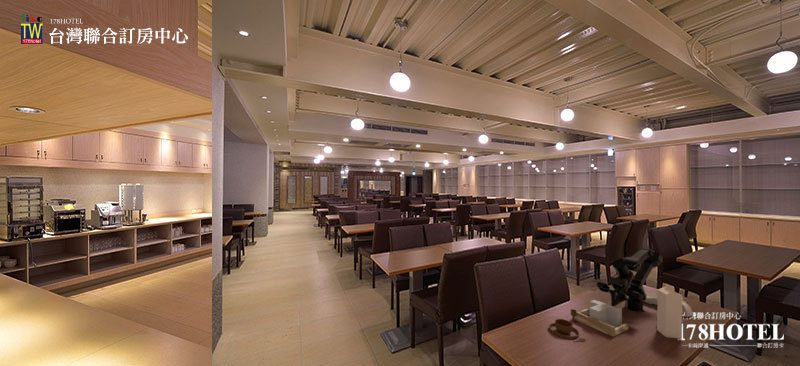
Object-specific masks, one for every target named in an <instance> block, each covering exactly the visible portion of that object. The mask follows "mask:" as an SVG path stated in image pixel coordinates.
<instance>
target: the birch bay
mask: <svg viewBox="0 0 800 366" xmlns="http://www.w3.org/2000/svg"><path fill="white" fill-rule="evenodd" d="M571 316H572V315H571ZM574 317H575V320H574V321H575V322H578V323H580V324H583V325H585V326H587V327H590V328H591V329H595V330H597V331H599V332H601V333H604V334H606V335H608V334H609V336H611V337H616V336H618V335H620V334H622V333H624V332H626V331H628V330H629V323H627V322H625V323H622V325H621V326H618V327H614V326H611V325H609V324H606V323H604V322H601V321H599V320H596V319H594V318H591V317H590V308H584V309H582V310H580V311H577V314H576V316H574ZM572 318H573V316H572Z"/></svg>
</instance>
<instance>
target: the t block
mask: <svg viewBox="0 0 800 366" xmlns="http://www.w3.org/2000/svg"><path fill="white" fill-rule="evenodd" d="M589 309H590V311H589V317H591V318H594V319H596V320H599V321H601V322H604V323H606V324H609V325H611V326H614V327H615V328H616V327H618V326H621V325H623V323H622V321H623V318H622V317H623V309H622V308H619V307H616V306H615V307H614V306H612V304H608V303H605V302H602V301H599V300H597V299H593V300H590V301H589Z"/></svg>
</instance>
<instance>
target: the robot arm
mask: <svg viewBox="0 0 800 366" xmlns="http://www.w3.org/2000/svg"><path fill="white" fill-rule="evenodd" d="M663 260H664V257H663V255H661V254H660V253H658V252H656V251H654V250H653V249H651V248H646V247H640V248H639V250H638V251H637V252H635V253H634V254H633V255H632V256H626V257H623V258H622V257H619V259H615V260H614V261H612V263H611V265H612V267H613V268H614V270H615V272H616V273H617V274H618V275H617V277H613V276H609V280H608V283H609V284H610V285H611V286H609V285H608V283H607V282H603V281H600V280H599V281H597V283H596V287H597V288H598V289H599V291H601V292H603V293H606V294H607V293H609V294H610V296H611V299H610V300H611V303H610V305H611V306H614V307H616V306H617V305H619V304H621V303H623V302H625V303H624V306H625V307H626V309H628V310H629V311H636V312H643V313H644V312H646V311H645V310H644V301H646V298H647V295H646V293H647V292H646V291H645V289H644V287H643V286H644V284H645V282H646V281H647V280H648V277H649V275H650V274H651V273H652V271H653V269H654V268H657V267H659V266H660V265H661V264H662V263H663ZM633 272H636V273H633ZM634 274H635V275H634ZM643 300H644V301H643Z"/></svg>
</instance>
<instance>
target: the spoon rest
mask: <svg viewBox="0 0 800 366" xmlns="http://www.w3.org/2000/svg"><path fill="white" fill-rule="evenodd" d="M645 293H646V295H647V298H646V301H644V300H643V303H646V304H648V303H650V305H652V304H655V305H654V306H657V305H658V293H657V294H656V293H652V292H651V293H650V292H645ZM682 309H684V313H685V314H684V315H685V317H687V318H688V317H692V316H694V312H693V310H692V308H691V307H690V305H689V304H687V302H686V301H684V300H683V299H682Z"/></svg>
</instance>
